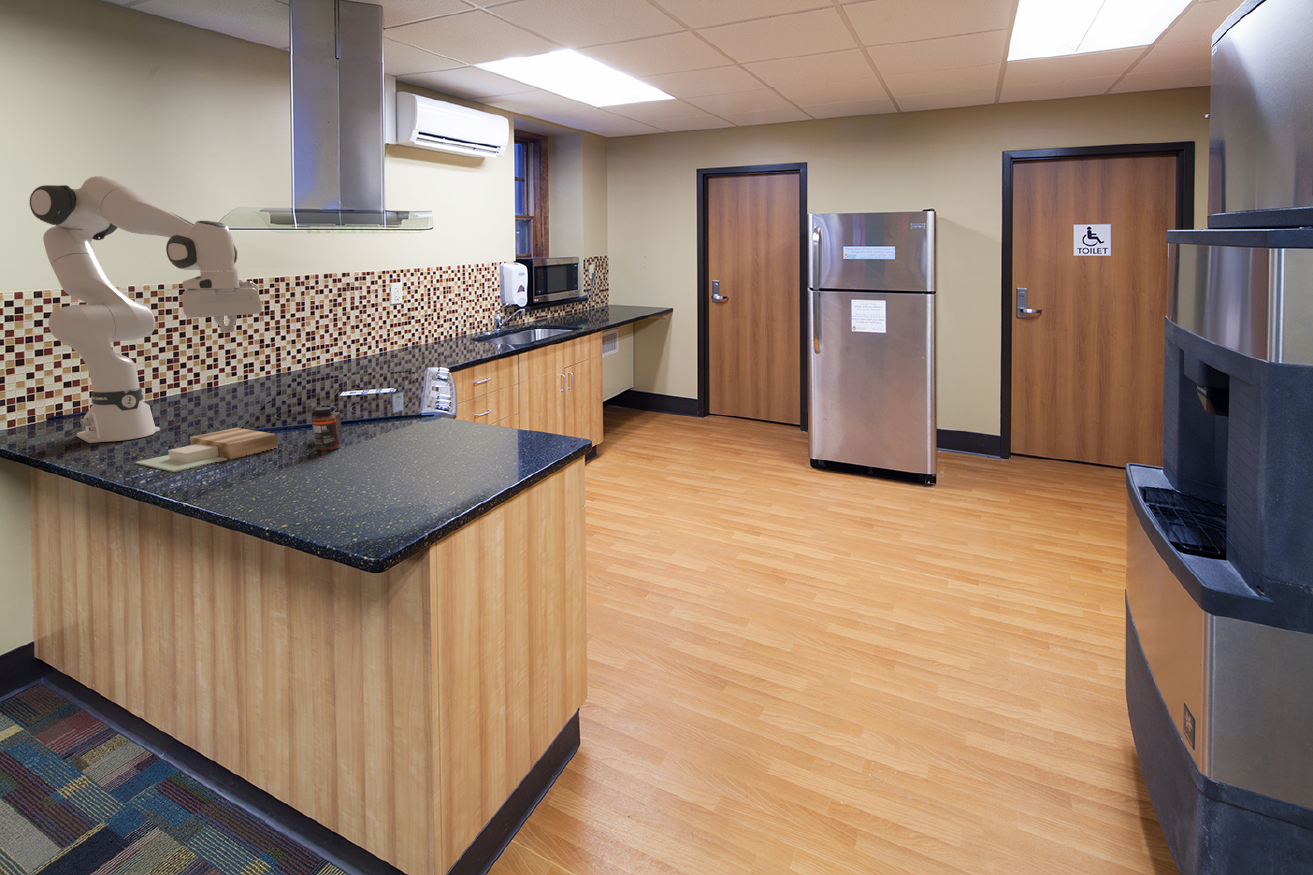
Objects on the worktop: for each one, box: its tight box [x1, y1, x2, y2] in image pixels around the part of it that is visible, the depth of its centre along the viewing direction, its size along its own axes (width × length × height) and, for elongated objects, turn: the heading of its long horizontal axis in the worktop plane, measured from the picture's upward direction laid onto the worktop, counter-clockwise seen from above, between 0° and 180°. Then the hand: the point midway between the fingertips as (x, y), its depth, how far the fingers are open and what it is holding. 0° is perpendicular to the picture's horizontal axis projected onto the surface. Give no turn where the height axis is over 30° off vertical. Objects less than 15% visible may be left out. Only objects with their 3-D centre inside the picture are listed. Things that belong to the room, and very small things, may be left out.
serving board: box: [189, 427, 279, 460], centre depth 195 cm, size 18×13×4 cm
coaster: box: [167, 444, 219, 463], centre depth 186 cm, size 8×8×2 cm
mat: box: [134, 454, 228, 473], centre depth 184 cm, size 18×13×1 cm
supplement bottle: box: [311, 406, 340, 452], centre depth 194 cm, size 6×6×11 cm
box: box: [313, 412, 343, 440], centre depth 206 cm, size 6×6×7 cm
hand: (227, 332), depth 200 cm, fingers closed
